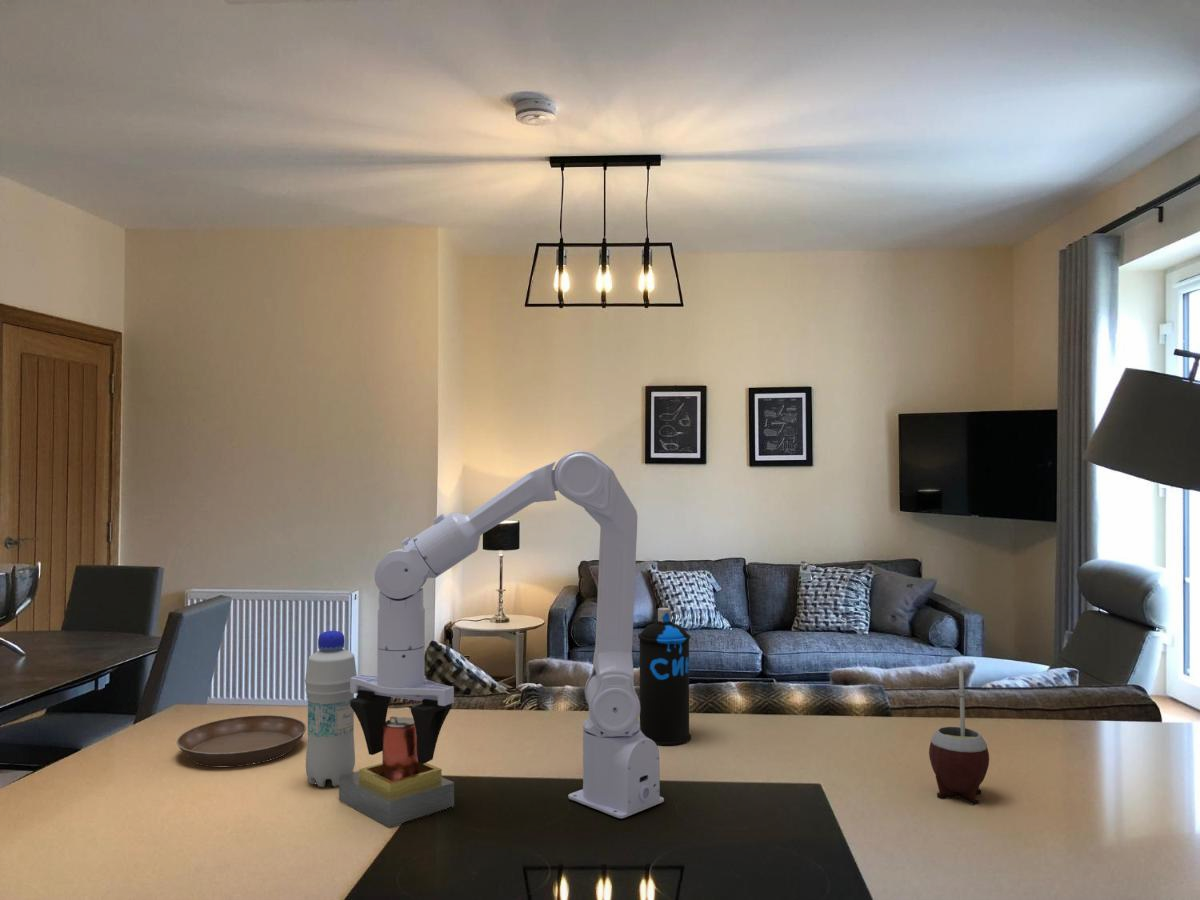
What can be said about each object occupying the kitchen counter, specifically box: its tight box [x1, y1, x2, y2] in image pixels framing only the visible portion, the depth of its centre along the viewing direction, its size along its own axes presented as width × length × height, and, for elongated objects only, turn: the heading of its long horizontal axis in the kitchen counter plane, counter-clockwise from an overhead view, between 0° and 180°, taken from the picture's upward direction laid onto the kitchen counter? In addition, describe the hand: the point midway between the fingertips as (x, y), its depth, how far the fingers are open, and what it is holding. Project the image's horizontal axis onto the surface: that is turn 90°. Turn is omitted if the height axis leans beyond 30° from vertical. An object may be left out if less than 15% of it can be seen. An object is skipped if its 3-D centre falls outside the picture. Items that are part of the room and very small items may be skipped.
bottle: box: [304, 630, 358, 788], centre depth 116 cm, size 7×7×20 cm
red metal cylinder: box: [381, 715, 419, 781], centre depth 107 cm, size 4×4×8 cm
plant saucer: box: [176, 714, 307, 767], centre depth 128 cm, size 18×18×3 cm
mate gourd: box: [928, 668, 990, 806], centre depth 111 cm, size 8×8×15 cm
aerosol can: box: [637, 607, 692, 747], centre depth 135 cm, size 8×8×20 cm
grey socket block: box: [338, 762, 455, 829], centre depth 108 cm, size 14×9×4 cm, turn 45°
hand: (400, 756), depth 107 cm, fingers open, 7 cm apart
